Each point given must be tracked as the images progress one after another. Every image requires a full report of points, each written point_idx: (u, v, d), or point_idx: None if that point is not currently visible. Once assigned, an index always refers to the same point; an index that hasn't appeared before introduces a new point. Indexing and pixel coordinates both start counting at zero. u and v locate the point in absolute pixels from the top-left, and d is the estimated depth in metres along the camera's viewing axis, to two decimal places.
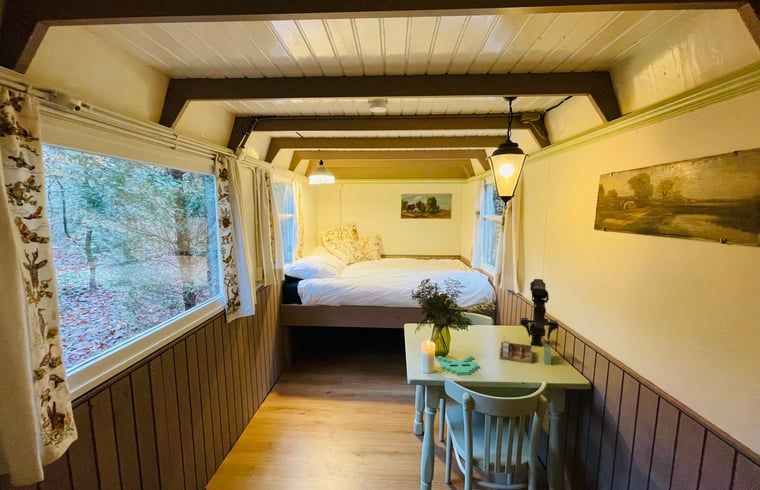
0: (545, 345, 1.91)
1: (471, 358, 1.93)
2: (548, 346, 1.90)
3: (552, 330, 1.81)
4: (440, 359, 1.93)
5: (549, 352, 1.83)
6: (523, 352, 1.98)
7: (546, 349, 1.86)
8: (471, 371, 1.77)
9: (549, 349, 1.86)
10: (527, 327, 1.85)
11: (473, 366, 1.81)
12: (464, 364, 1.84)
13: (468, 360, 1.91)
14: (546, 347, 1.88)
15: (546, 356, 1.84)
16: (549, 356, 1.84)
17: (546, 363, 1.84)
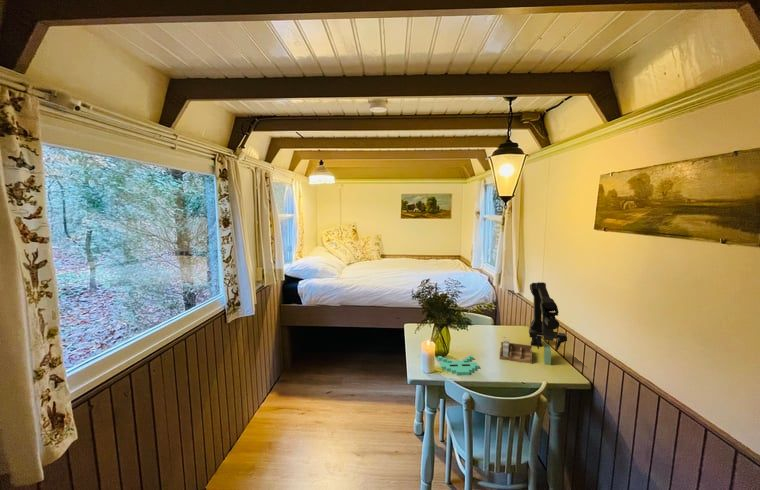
0: (545, 345, 1.91)
1: (471, 358, 1.93)
2: (548, 346, 1.90)
3: None
4: (440, 359, 1.93)
5: (549, 352, 1.83)
6: (523, 352, 1.98)
7: (546, 349, 1.86)
8: (471, 371, 1.77)
9: (549, 349, 1.86)
10: (536, 339, 1.88)
11: (473, 366, 1.81)
12: (464, 364, 1.84)
13: (468, 360, 1.91)
14: (546, 347, 1.88)
15: (546, 356, 1.84)
16: (549, 356, 1.84)
17: (546, 363, 1.84)
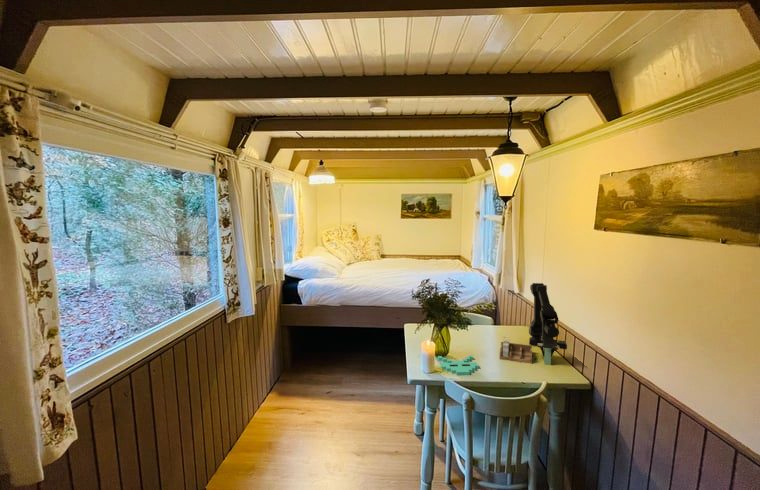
0: None
1: (471, 358, 1.93)
2: None
3: None
4: (440, 359, 1.93)
5: (549, 352, 1.83)
6: (523, 352, 1.98)
7: (546, 349, 1.86)
8: (471, 371, 1.77)
9: (549, 349, 1.86)
10: (542, 348, 1.87)
11: (473, 366, 1.81)
12: (464, 364, 1.84)
13: (468, 360, 1.91)
14: None
15: (546, 356, 1.84)
16: (549, 356, 1.84)
17: (546, 363, 1.84)
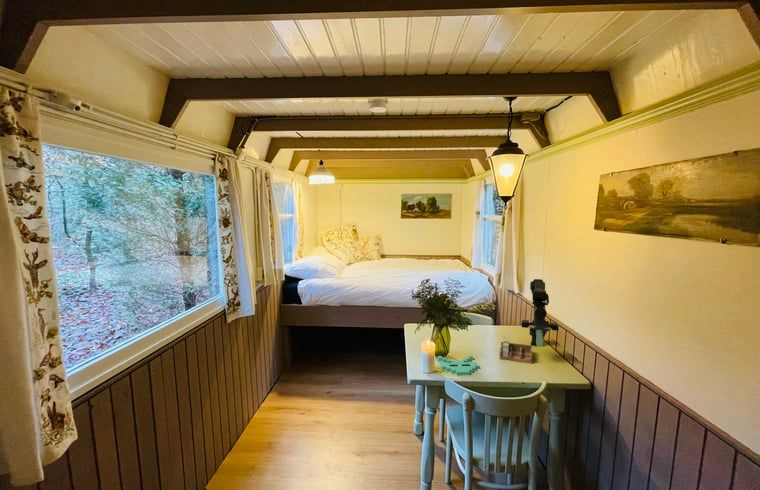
0: None
1: (471, 358, 1.93)
2: None
3: (546, 331, 1.86)
4: (440, 359, 1.93)
5: (541, 334, 1.84)
6: (523, 352, 1.98)
7: (538, 331, 1.86)
8: (471, 371, 1.77)
9: (541, 331, 1.86)
10: (533, 330, 1.88)
11: (473, 366, 1.81)
12: (464, 364, 1.84)
13: (468, 360, 1.91)
14: None
15: (538, 338, 1.85)
16: (541, 338, 1.84)
17: (538, 345, 1.85)
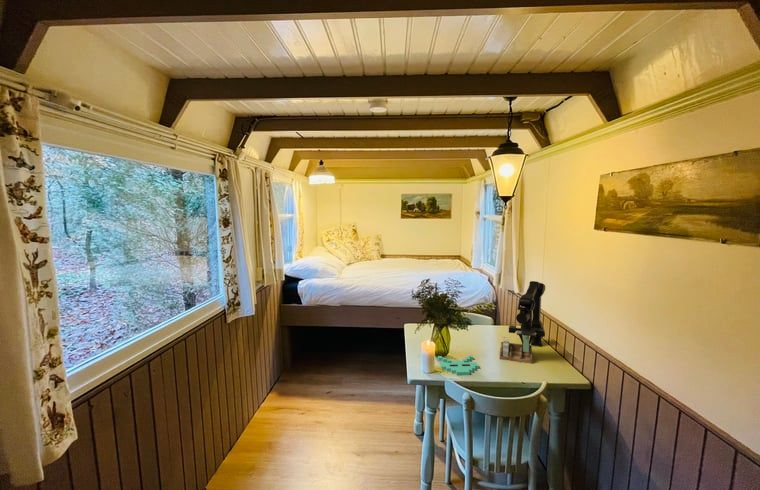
0: None
1: (471, 358, 1.93)
2: None
3: (533, 337, 1.89)
4: (440, 359, 1.93)
5: (527, 339, 1.87)
6: (523, 352, 1.98)
7: (524, 336, 1.90)
8: (471, 371, 1.77)
9: (527, 336, 1.89)
10: (520, 335, 1.91)
11: (473, 366, 1.81)
12: (464, 364, 1.84)
13: (468, 360, 1.91)
14: (525, 335, 1.92)
15: (524, 343, 1.88)
16: (527, 343, 1.87)
17: (524, 350, 1.88)
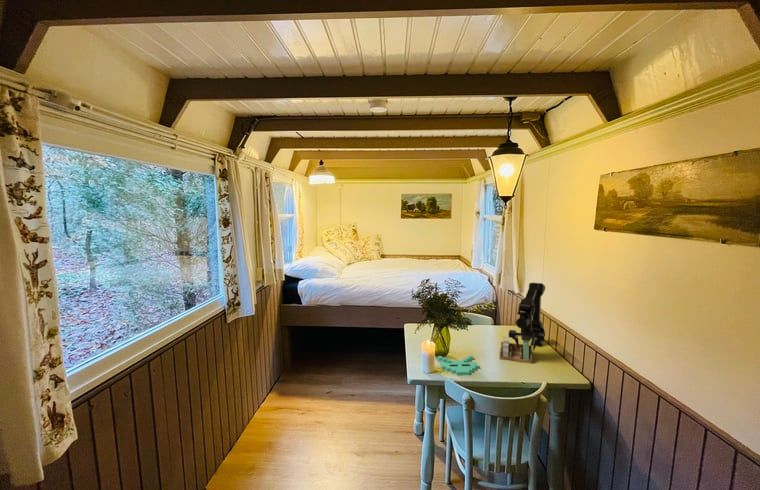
0: (524, 340, 1.95)
1: (471, 358, 1.93)
2: (527, 341, 1.94)
3: (537, 342, 1.88)
4: (440, 359, 1.93)
5: (527, 346, 1.88)
6: None
7: (524, 344, 1.90)
8: (471, 371, 1.77)
9: (527, 344, 1.90)
10: (516, 339, 1.92)
11: (473, 366, 1.81)
12: (464, 364, 1.84)
13: (468, 360, 1.91)
14: (525, 342, 1.93)
15: (524, 350, 1.88)
16: (527, 350, 1.88)
17: (524, 357, 1.89)
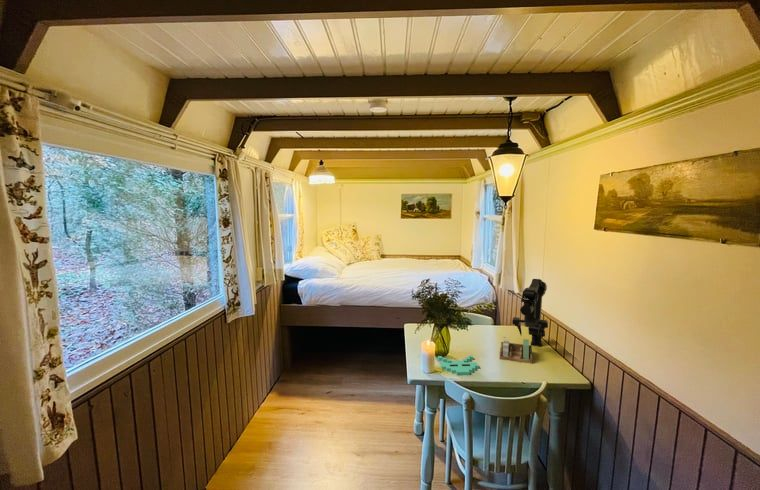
0: (524, 340, 1.95)
1: (471, 358, 1.93)
2: (527, 341, 1.94)
3: (542, 329, 1.91)
4: (440, 359, 1.93)
5: (527, 346, 1.88)
6: None
7: (524, 344, 1.90)
8: (471, 371, 1.77)
9: (527, 344, 1.90)
10: (519, 326, 1.95)
11: (473, 366, 1.81)
12: (464, 364, 1.84)
13: (468, 360, 1.91)
14: (525, 342, 1.93)
15: (524, 350, 1.88)
16: (527, 350, 1.88)
17: (524, 357, 1.89)
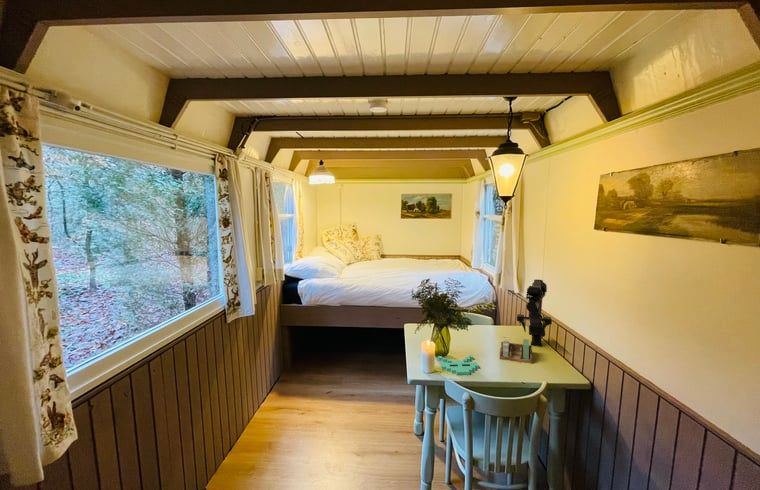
0: (524, 340, 1.95)
1: (471, 358, 1.93)
2: (527, 341, 1.94)
3: None
4: (440, 359, 1.93)
5: (527, 346, 1.88)
6: None
7: (524, 344, 1.90)
8: (471, 371, 1.77)
9: (527, 344, 1.90)
10: (523, 323, 1.99)
11: (473, 366, 1.81)
12: (464, 364, 1.84)
13: (468, 360, 1.91)
14: (525, 342, 1.93)
15: (524, 350, 1.88)
16: (527, 350, 1.88)
17: (524, 357, 1.89)
